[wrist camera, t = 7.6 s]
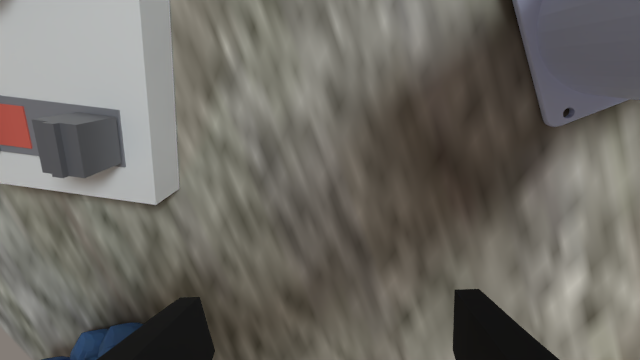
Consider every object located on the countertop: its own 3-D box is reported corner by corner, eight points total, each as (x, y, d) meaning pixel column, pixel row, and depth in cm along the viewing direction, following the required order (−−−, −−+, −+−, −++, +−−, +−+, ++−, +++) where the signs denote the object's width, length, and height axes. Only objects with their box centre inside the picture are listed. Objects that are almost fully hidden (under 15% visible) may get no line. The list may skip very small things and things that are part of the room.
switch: (77, 112, 16) (24, 120, 13) (116, 116, 16) (69, 126, 13) (84, 158, 17) (36, 174, 14) (121, 163, 16) (79, 180, 14)
